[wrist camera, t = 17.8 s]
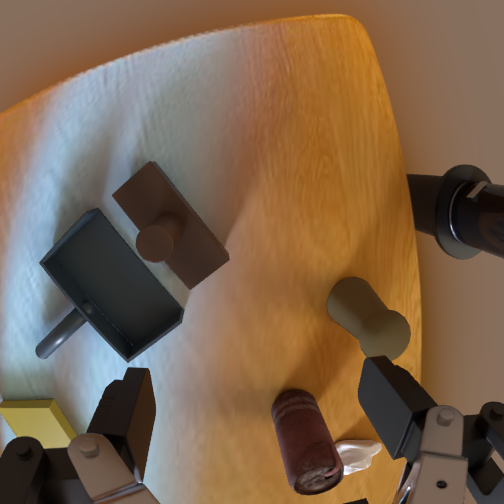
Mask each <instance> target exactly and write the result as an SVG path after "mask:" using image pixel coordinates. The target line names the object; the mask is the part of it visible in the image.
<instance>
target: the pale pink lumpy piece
mask: <svg viewBox="0 0 504 504" xmlns="http://www.w3.org/2000/svg"><path fill="white" fill-rule="evenodd" d="M335 446H336V449H337V451H338V453H339V456H340V458H341V460H342V463H343V465H344V472H343V475H349V474H350V473H353V472H356V471H358V470H363V469H366V468H368V467H369V465H371V459H372V457H373V455H375V454H377V453H378V452H379V451H380V450H381V448H382V445H381V443H378V442H375V441H374V440H344V441H340V442H337V443H335Z"/></svg>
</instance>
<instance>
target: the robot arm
mask: <svg viewBox="0 0 504 504" xmlns="http://www.w3.org/2000/svg"><path fill="white" fill-rule="evenodd" d="M447 219H448V226H449V229H450V232H451V234H452V236H453V237H454V239H455V240H456V241H458V242H459V243H461V244H464V245H467V246H471V247H474V248H477V249H479V250H482V251H485V252H487V253H490V254H493V255H495V256H498V257H501V258H503V259H504V185H497V184H490V183H487V182H484V181H481V182H476V181H465V182H462V183H461V184H459V185H458V186H457V187H456V189H455V190H454V192H453V193H452V195H451V198H450V201H449V204H448V211H447ZM358 399H359V403H360V405H361V407H362V408H363V410H364V412H365V413H366V415H367V417H368V418H369V420H370V422H371V423H372V425H373V427H374V428H375V430H376V432H377V433H378V435H379V437H380V439H381V440H382V442H383V444H384V445H385V447H386V449H387V450H388V452H389V454H390V455H391V457H392V459H393V460H395V459H399V458H402V457H405V458H406V459H407V461H406V463H405V465H404V468H403V471H402V475H401V478H400V481H399V484H398V488H397V491H396V494H395V497H394V500H393V502H392V504H464V499H465V491H466V486H467V488H468V489H469V491H470V493H471V494H472V496H473V497H474V499H475V501H476V502H477V504H504V474H503V472H502V471H501V470H500V468H499V467H498V466H497V464H496V463H495V462H494V460H493V459H492V458H491V455H492V454H493V452H494V451H495V450H496V451H497V452H498V453H499V455H500V456H501V457H502V459H503V460H504V404H502V403H500V402H488V403H486V404H484V405H483V406H482V408H481V410H480V413H479V414H477V415H466V416H463V415H462V414H461V413H460V412H459V411H458V410H457V409H455V408H453V407H451V406H447V405H437V404H436V403H435V401H434V400H433V399H432V398H431V397H430V396H429V395H428V393H427V392H426V391H425V390H424V389H423V388H422V387H421V386H420V384H419V383H418V382H417V381H416V380H414V378H413V377H412V375H411V374H410V373H409V372H408V371H407V370H405V369H403V368H401V367H400V366H398V365H394V364H393V363H392V362H391V361H390V360H389V359H388V357H387V356H385V355H381V356H374V357H367V358H366V359H365V360H364V364H363V369H362V373H361V378H360V383H359V387H358ZM155 416H156V403H155V397H154V392H153V386H152V381H151V375H150V371H149V369H148V368H134V367H128V368H127V371H126V373H125V376H124V378H123V380H114V381H113V382H112V383H110V384H109V385H108V386H107V387H106V388H105V390H104V393H103V395H102V399H100V402H99V404H98V406H97V408H96V411H95V413H94V415H93V418H92V420H91V422H90V425H89V427H88V429H87V432H86V433H84V434H81V435H78V436H76V437H75V438H74V439H72V440H71V441H70V443H69V445H68V447H62V448H43V446H42V444H41V443H40V441H39V440H37V439H36V438H33V437H30V436H21V437H17V438H15V439H13V440H12V441H10V442H9V443H8V444H7V446H6V448H5V450H4V451H3V454H2V455H1V457H0V504H160V503H159V502H158V500H157V499H156V498H155V497H154V496H153V494H152V493H151V492H150V491H149V489H148V488H147V487H146V486H145V485H144V484H143V483H139V482H143V479H144V473H145V467H146V462H147V457H148V451H149V446H150V441H151V436H152V431H153V426H154V421H155ZM344 504H369V503H368V501H367V499H366V498H364V499H361V500H357V501H353V502H348V503H344Z"/></svg>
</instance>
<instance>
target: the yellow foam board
mask: <svg viewBox="0 0 504 504" xmlns="http://www.w3.org/2000/svg"><path fill="white" fill-rule="evenodd" d="M0 413H1V415H2V416H3V418H4V419H5V421H6V422H7V423H8V425H9V426H10V428H11V429H12V431H13V432H14V433H15V435H16V436H17V437H21V436H30V437H33V438H36V439H37V440H39V441H40V443H41V444H42V446H43V448H62V447H68V445H69V443H70V441H71V440H72V439H74V438H75V437H76V436H77V434H76V433H75V431H74V430H73V428H72V427H71V425H70V424H69V422H68V421H67V419H66V418H65V416H64V414H63V413H62V411H61V410H60V408H59V406H58V405H57V403H56V401H55V400H54V399H45V400H7V401H2V402H1V404H0Z"/></svg>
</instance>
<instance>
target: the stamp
mask: <svg viewBox="0 0 504 504" xmlns="http://www.w3.org/2000/svg"><path fill="white" fill-rule="evenodd" d="M112 196H113V198H114V199H115V200H116V202H117V203H118V204H119V205H120V207H121V208H122V209H123V211H124V212H125V213H126V214H127V216H128V217H129V218H130V219H131V221H132V222H133V223H134V224H135V226H136V227H137V228H138V229H139V231H140V232H139V233H138V235H137V238H136V248H137V251H138V253H139V254H140V256H141V257H142V258H143V259H145V260H146V261H148V262H152V263H159V262H162V261H165V262H166V263H167V264H168V266H169V267H170V268H171V269H172V270H173V272H174V273H175V274H176V275H177V276H178V277H179V279H180V280H181V281H182V282H183V283H184V284H185V285H186V287H187V288H188V289H189V290H191V289H192V288H194V287H195V286H196V285H197V284H199V283H200V282H201V281H203V280H204V279H205V278H207V277H208V276H209V275H210V274H212V273H213V272H214V271H216V270H217V269H218V268H220V267H221V266H222V265H223V264H225V263H226V262H227V261H229V253H228V252H227V251H226V249H225V248H224V247H223V246H222V245H221V243H220V242H219V241H218V240H217V238H216V237H215V236H214V235H213V233H212V232H211V231H210V230H209V228H208V227H207V226H206V225H205V223H204V222H203V221H202V220H201V218H200V217H199V216H198V215H197V213H196V212H195V211H194V210H193V208H192V207H191V206H190V205H189V203H188V202H187V201H186V200H185V198H184V197H183V196H182V195H181V193H180V192H179V191H178V190H177V188H176V187H175V186H174V185H173V183H172V182H171V181H170V179H169V178H168V177H167V176H166V174H165V173H164V172H163V171H162V169H161V168H160V167H159V166H158V164H157V163H156V162H153V161H150V162H149V163H147V164H146V165H145V166H144V167H143V168H142V169H140V170H139V171H138V172H137V173H136V174H135V175H133V176H132V177H131V178H130V179H129V180H128V181H127V182H126V183H124V184H123V185H122V186H121V187H120V188H119V189H118V190H117V191H116V192H115V193H113V194H112Z"/></svg>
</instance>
